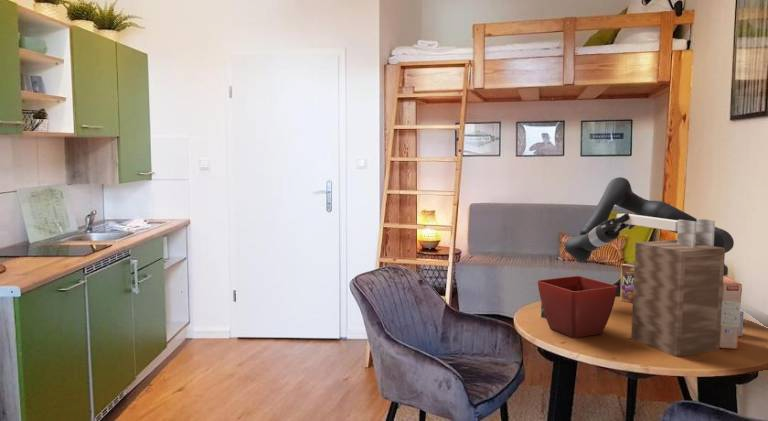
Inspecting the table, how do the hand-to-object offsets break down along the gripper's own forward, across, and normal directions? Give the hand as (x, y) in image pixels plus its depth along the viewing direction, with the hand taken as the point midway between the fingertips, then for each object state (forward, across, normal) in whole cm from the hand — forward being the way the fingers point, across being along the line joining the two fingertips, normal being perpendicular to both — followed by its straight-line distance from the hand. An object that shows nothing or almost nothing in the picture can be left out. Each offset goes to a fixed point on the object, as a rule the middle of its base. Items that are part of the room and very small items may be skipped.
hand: (633, 215), depth 206 cm
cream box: (+5, 0, +6) cm, 8 cm away
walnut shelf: (+1, -4, +46) cm, 46 cm away
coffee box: (-33, -22, +26) cm, 47 cm away
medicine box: (-1, +22, +45) cm, 50 cm away
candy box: (-39, +23, +23) cm, 51 cm away
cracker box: (+4, +11, +48) cm, 49 cm away
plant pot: (-18, -25, +35) cm, 46 cm away
